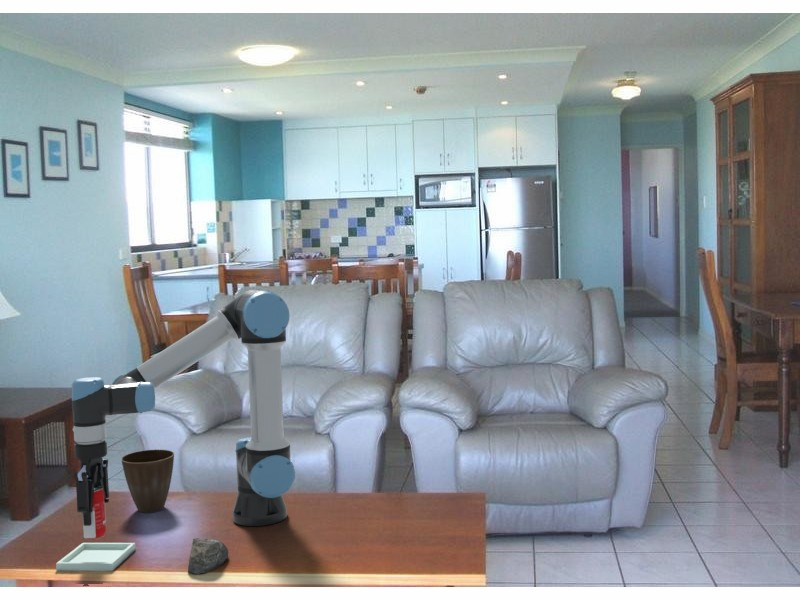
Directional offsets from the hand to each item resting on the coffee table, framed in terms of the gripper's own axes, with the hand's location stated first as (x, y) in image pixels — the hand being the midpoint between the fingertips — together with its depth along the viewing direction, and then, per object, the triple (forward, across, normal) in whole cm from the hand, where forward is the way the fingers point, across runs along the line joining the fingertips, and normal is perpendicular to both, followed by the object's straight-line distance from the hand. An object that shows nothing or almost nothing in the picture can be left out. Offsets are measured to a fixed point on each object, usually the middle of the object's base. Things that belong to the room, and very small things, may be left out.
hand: (95, 533), depth 213 cm
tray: (+7, 0, 0) cm, 7 cm away
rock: (+7, +2, +29) cm, 30 cm away
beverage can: (+1, 0, 0) cm, 1 cm away
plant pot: (+7, -40, -2) cm, 41 cm away
